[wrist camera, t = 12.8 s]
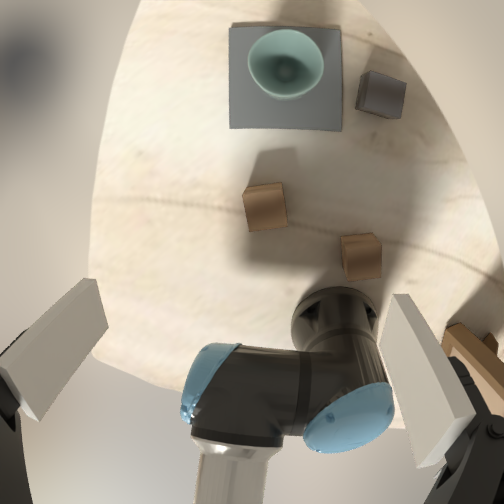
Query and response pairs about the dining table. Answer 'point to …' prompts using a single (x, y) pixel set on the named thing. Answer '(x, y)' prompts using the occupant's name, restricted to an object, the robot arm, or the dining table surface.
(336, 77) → the slate board
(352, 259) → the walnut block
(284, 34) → the cup
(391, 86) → the charcoal block front
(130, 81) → the dining table surface
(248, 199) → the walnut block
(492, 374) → the photo frame
